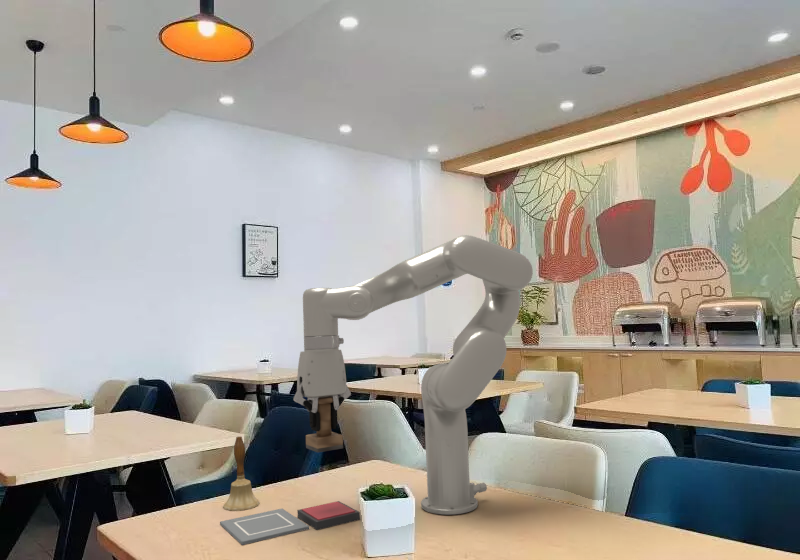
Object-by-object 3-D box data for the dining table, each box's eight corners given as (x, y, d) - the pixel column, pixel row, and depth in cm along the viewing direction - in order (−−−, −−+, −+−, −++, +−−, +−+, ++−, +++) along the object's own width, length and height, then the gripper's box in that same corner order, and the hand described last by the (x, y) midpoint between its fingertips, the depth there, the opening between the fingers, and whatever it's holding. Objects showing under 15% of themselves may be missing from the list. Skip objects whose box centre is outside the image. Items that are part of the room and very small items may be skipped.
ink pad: (338, 508, 136) (338, 500, 136) (359, 519, 128) (359, 511, 128) (297, 517, 131) (297, 509, 131) (316, 530, 122) (316, 521, 123)
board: (282, 511, 136) (282, 508, 136) (309, 529, 123) (309, 525, 123) (220, 524, 128) (219, 521, 128) (242, 545, 116) (241, 541, 116)
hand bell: (238, 513, 136) (236, 441, 137) (215, 507, 141) (214, 438, 142) (267, 503, 142) (265, 435, 143) (244, 498, 147) (243, 432, 148)
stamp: (330, 444, 134) (329, 395, 135) (343, 448, 129) (341, 397, 130) (306, 448, 131) (304, 398, 132) (317, 452, 126) (316, 400, 127)
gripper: (346, 342, 139) (349, 422, 138) (279, 346, 130) (281, 432, 129) (362, 342, 133) (365, 426, 132) (292, 346, 124) (295, 437, 123)
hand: (323, 428), depth 130 cm, fingers closed on stamp, 3 cm apart
